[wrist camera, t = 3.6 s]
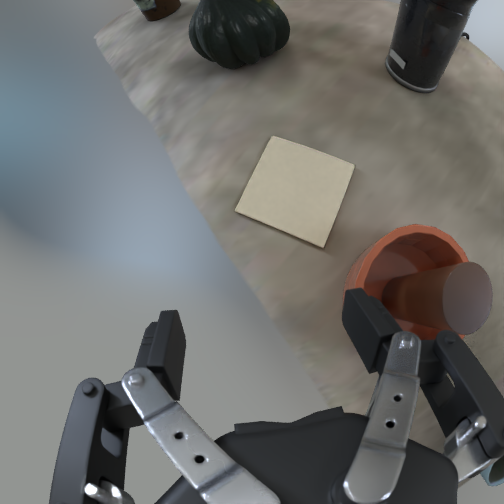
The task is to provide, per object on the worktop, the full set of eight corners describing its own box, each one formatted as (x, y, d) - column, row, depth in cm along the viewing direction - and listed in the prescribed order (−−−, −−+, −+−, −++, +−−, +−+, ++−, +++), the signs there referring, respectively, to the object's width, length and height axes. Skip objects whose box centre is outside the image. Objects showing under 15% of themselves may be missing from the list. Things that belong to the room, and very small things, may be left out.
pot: (368, 219, 29) (384, 201, 23) (459, 265, 26) (488, 258, 20) (322, 331, 28) (328, 341, 22) (419, 370, 25) (443, 385, 19)
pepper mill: (391, 269, 27) (454, 250, 14) (424, 285, 26) (499, 277, 13) (374, 309, 27) (431, 321, 13) (409, 325, 26) (479, 343, 12)
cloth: (272, 136, 33) (272, 135, 32) (354, 166, 30) (355, 165, 30) (235, 211, 32) (234, 210, 32) (323, 248, 30) (323, 248, 29)
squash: (307, 51, 28) (272, -36, 19) (199, 81, 31) (164, -4, 22) (290, 55, 39) (264, -11, 30) (211, 78, 42) (185, 13, 33)
